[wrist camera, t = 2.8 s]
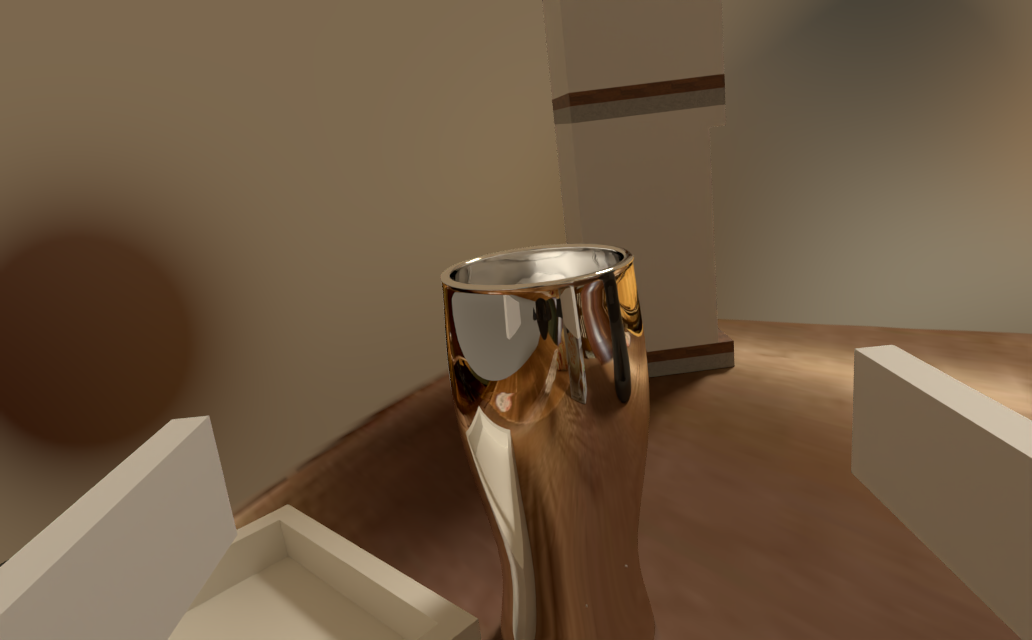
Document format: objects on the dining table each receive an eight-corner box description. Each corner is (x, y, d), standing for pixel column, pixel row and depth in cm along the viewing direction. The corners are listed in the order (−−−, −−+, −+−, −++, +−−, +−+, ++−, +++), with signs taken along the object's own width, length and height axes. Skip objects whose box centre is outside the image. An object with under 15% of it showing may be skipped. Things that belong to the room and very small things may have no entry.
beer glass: (455, 658, 27) (390, 283, 23) (552, 559, 32) (513, 241, 28) (613, 733, 23) (569, 293, 19) (695, 606, 28) (674, 241, 24)
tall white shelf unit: (734, 366, 52) (716, -160, 43) (596, 384, 52) (546, -140, 43) (690, 325, 63) (668, -102, 54) (576, 339, 63) (533, -86, 54)
